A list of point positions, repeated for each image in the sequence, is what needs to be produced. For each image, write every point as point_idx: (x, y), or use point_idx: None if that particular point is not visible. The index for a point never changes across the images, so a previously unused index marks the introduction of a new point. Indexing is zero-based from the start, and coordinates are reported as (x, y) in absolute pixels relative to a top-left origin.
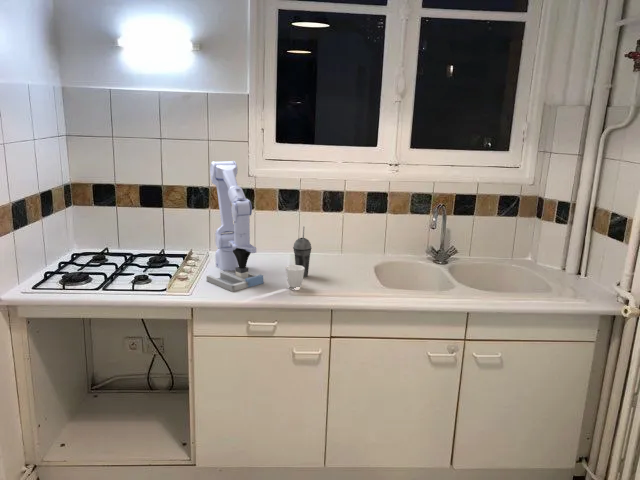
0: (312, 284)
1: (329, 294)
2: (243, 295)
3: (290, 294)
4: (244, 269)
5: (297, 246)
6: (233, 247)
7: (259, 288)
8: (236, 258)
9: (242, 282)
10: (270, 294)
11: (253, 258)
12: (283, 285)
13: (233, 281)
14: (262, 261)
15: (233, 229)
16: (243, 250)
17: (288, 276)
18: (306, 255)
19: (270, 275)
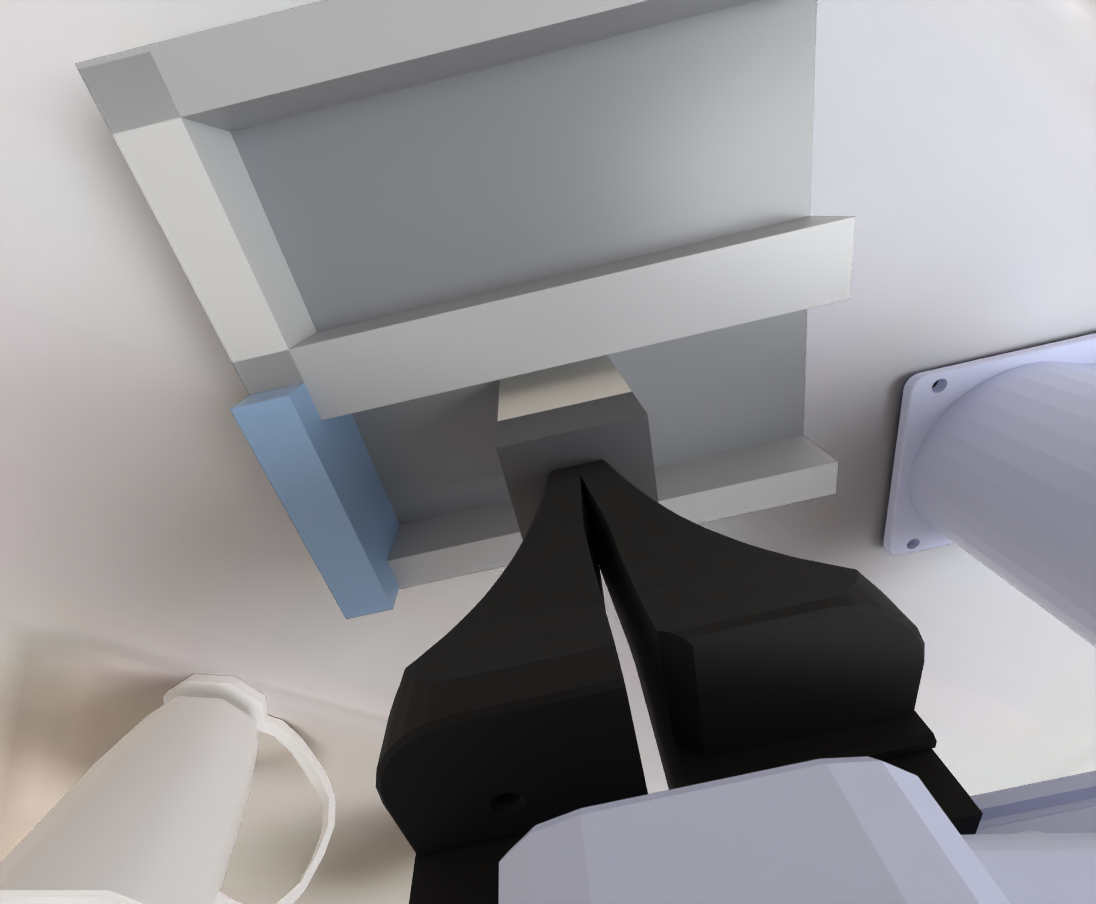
0: (279, 805)
1: (23, 819)
2: (96, 229)
3: (60, 636)
4: (513, 500)
5: None
6: (693, 807)
7: None
8: (681, 517)
9: (251, 322)
10: (86, 503)
11: (1057, 704)
12: (323, 667)
13: (518, 286)
14: (945, 727)
15: None
16: (480, 872)
17: (100, 789)
18: None
19: None
